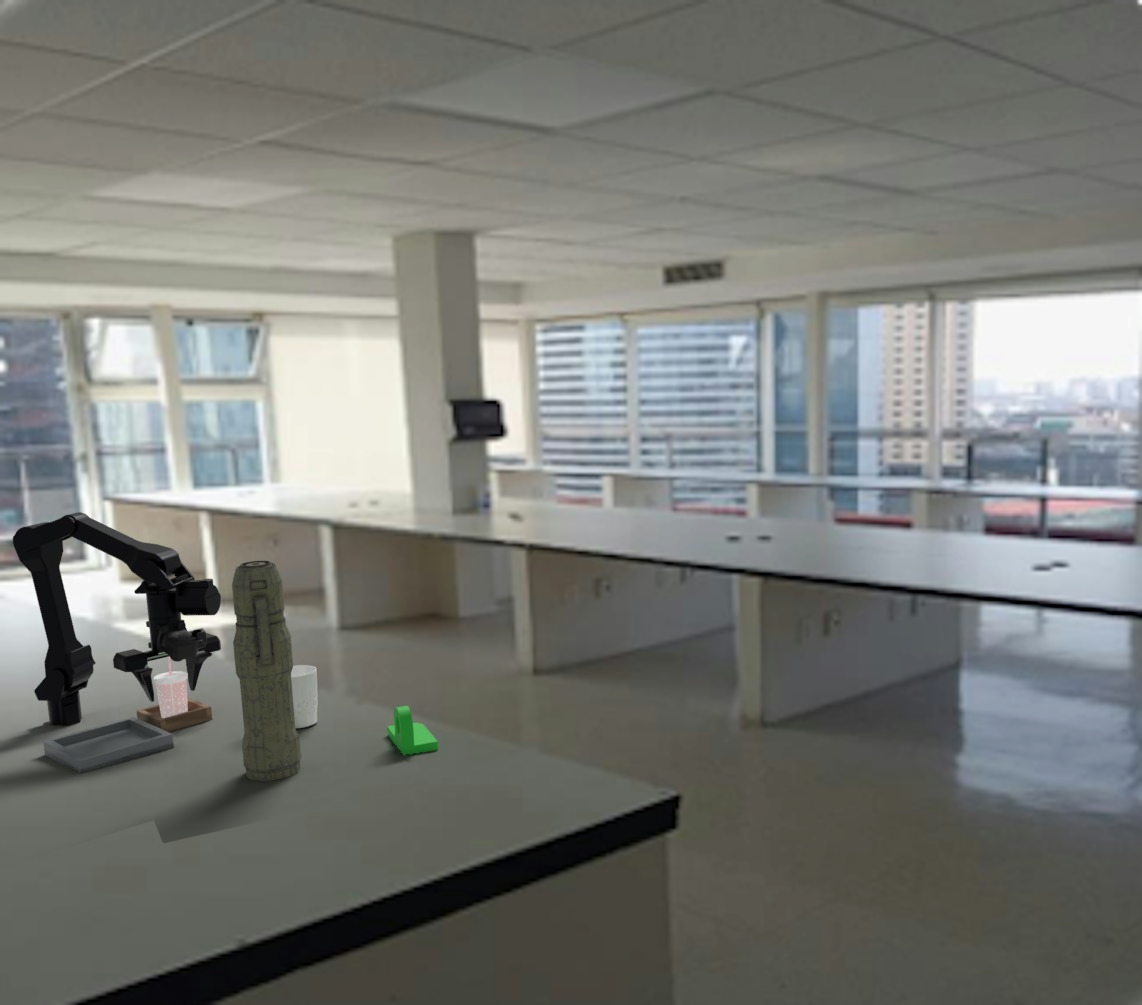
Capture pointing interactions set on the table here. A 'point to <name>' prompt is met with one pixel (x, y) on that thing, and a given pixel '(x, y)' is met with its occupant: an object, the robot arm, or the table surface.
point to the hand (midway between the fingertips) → (172, 695)
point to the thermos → (264, 673)
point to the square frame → (176, 716)
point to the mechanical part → (410, 733)
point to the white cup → (304, 695)
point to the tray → (107, 744)
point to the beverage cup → (172, 692)
